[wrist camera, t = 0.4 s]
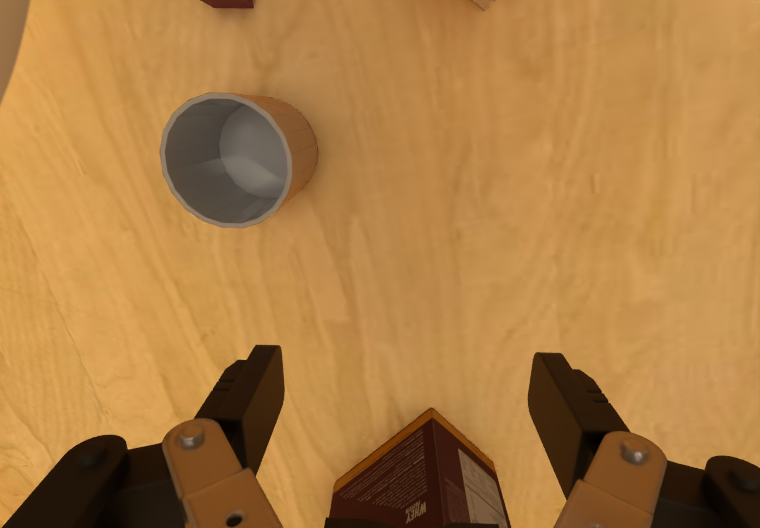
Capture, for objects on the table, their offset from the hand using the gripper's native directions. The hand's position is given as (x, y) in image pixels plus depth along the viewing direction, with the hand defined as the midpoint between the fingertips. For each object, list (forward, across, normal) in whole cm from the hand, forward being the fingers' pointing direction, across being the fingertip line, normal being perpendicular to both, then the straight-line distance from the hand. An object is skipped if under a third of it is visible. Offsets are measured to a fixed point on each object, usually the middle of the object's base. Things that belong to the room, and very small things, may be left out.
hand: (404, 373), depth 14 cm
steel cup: (+27, +12, -4) cm, 30 cm away
